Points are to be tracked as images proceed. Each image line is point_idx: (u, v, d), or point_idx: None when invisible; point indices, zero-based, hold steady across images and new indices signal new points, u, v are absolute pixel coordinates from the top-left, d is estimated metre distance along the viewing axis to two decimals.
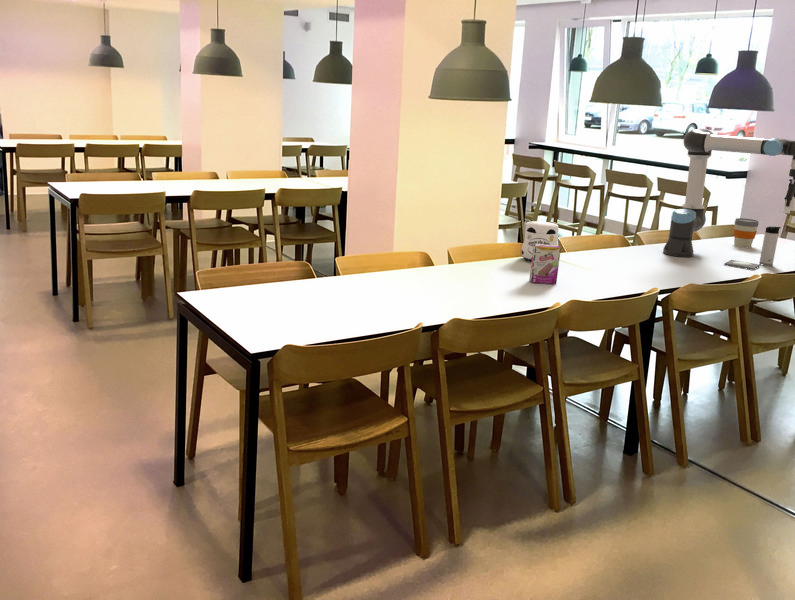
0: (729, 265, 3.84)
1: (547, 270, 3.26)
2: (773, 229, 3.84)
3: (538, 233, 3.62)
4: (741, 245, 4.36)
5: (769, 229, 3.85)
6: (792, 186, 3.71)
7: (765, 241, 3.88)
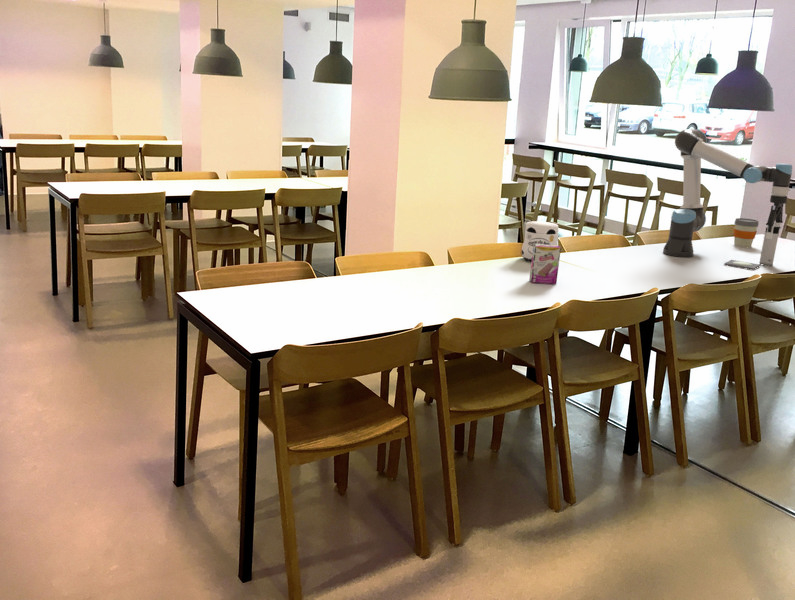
0: (729, 265, 3.84)
1: (547, 270, 3.26)
2: (773, 229, 3.84)
3: (538, 233, 3.62)
4: (741, 245, 4.36)
5: None
6: (773, 212, 3.79)
7: (765, 241, 3.88)
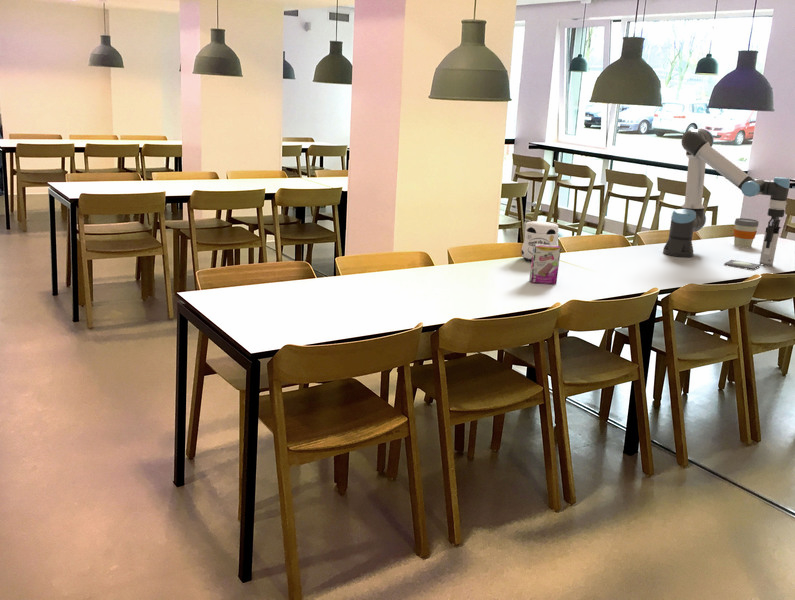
0: (729, 265, 3.84)
1: (547, 270, 3.26)
2: None
3: (538, 233, 3.62)
4: (741, 245, 4.36)
5: None
6: (770, 228, 3.82)
7: (765, 241, 3.88)
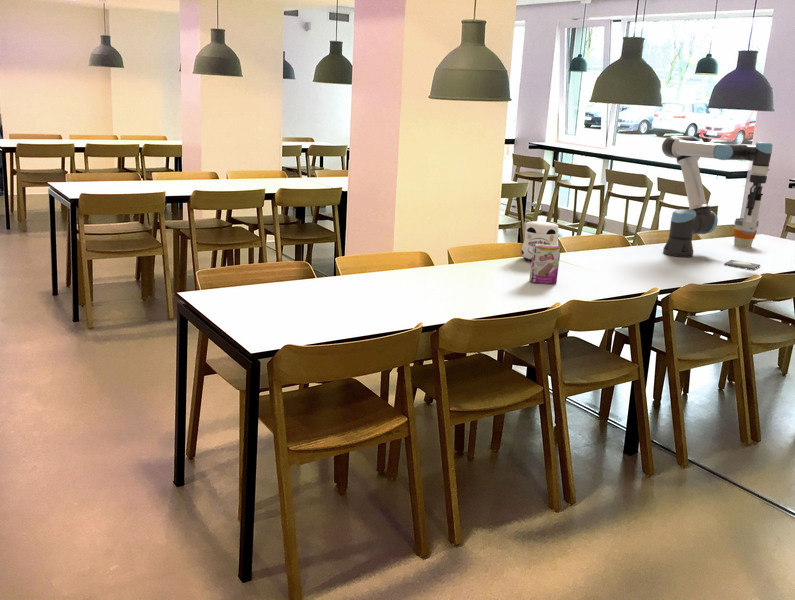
0: (729, 265, 3.84)
1: (547, 270, 3.26)
2: None
3: (538, 233, 3.62)
4: (741, 245, 4.36)
5: None
6: (752, 195, 3.72)
7: None
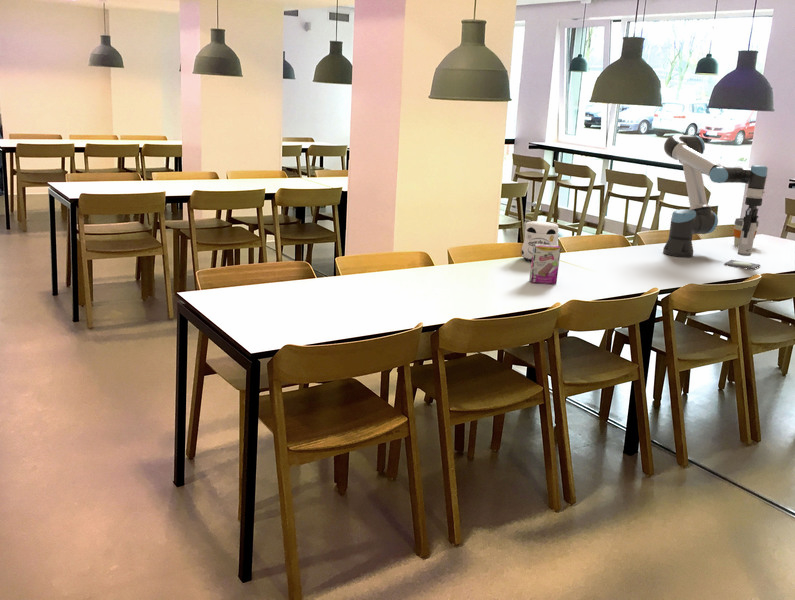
0: (729, 265, 3.84)
1: (547, 270, 3.26)
2: None
3: (538, 233, 3.62)
4: None
5: None
6: (748, 217, 3.74)
7: None
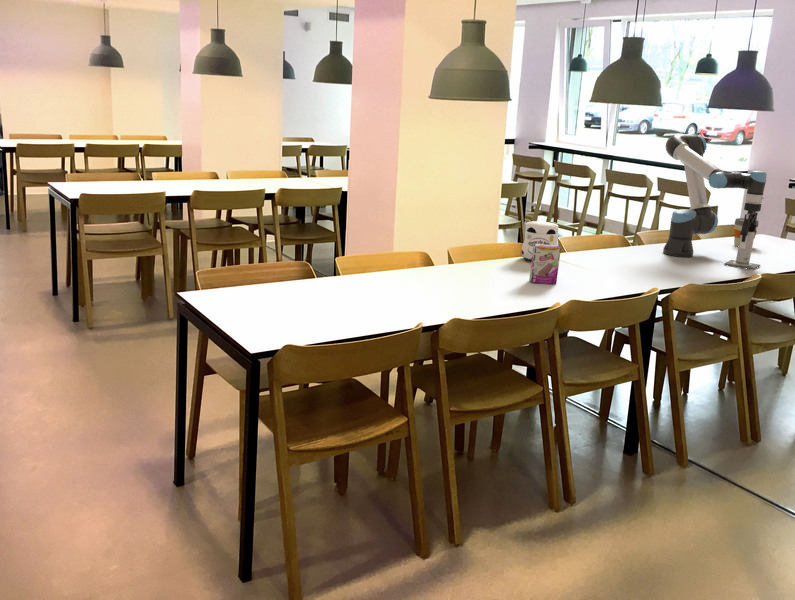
0: (729, 265, 3.84)
1: (547, 270, 3.26)
2: None
3: (538, 233, 3.62)
4: None
5: None
6: (746, 221, 3.74)
7: None
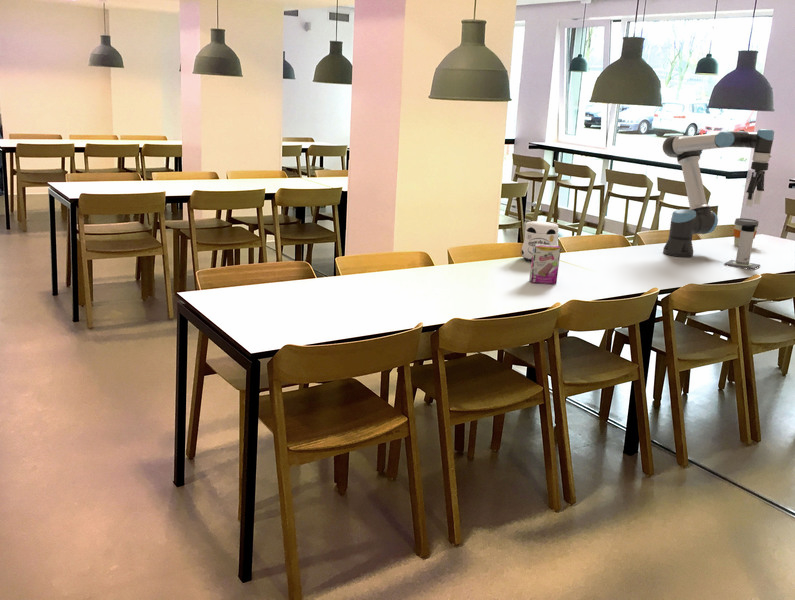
0: (729, 265, 3.84)
1: (547, 270, 3.26)
2: (749, 227, 3.78)
3: (538, 233, 3.62)
4: None
5: (745, 227, 3.79)
6: (754, 179, 3.69)
7: (741, 239, 3.82)
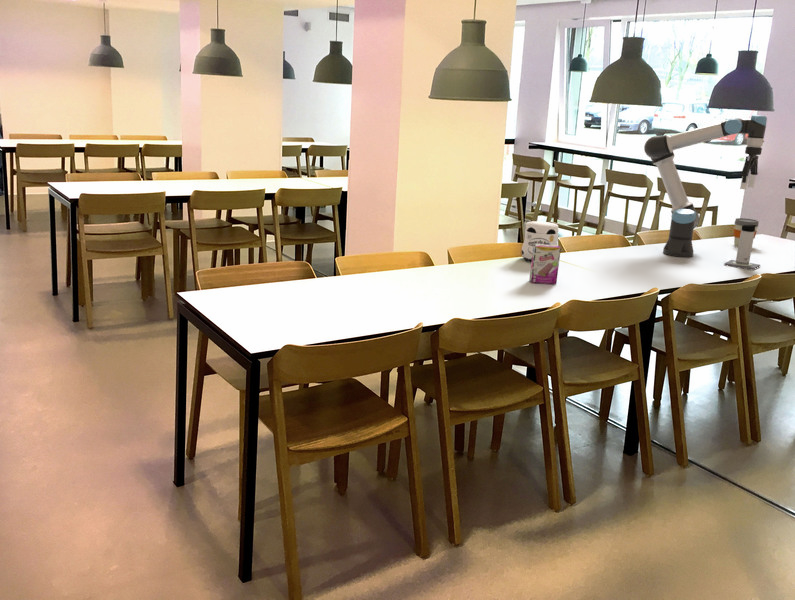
0: (729, 265, 3.84)
1: (547, 270, 3.26)
2: (749, 227, 3.78)
3: (538, 233, 3.62)
4: None
5: (745, 227, 3.79)
6: (747, 163, 3.87)
7: (741, 239, 3.82)
